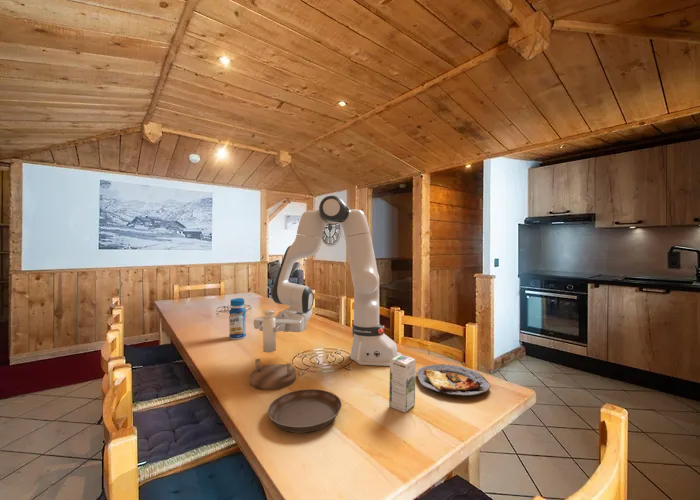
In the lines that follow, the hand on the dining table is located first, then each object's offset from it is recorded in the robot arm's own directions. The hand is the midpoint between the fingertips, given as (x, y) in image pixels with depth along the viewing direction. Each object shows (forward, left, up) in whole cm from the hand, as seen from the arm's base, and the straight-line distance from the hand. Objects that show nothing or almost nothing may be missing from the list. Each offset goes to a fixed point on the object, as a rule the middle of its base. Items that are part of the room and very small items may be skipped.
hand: (267, 329), depth 114 cm
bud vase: (0, -1, -8) cm, 8 cm away
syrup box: (-50, +5, -18) cm, 53 cm away
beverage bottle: (+42, -37, -18) cm, 59 cm away
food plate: (-64, -16, -18) cm, 68 cm away
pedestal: (-3, +1, -18) cm, 18 cm away
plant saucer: (-24, +19, -18) cm, 36 cm away
